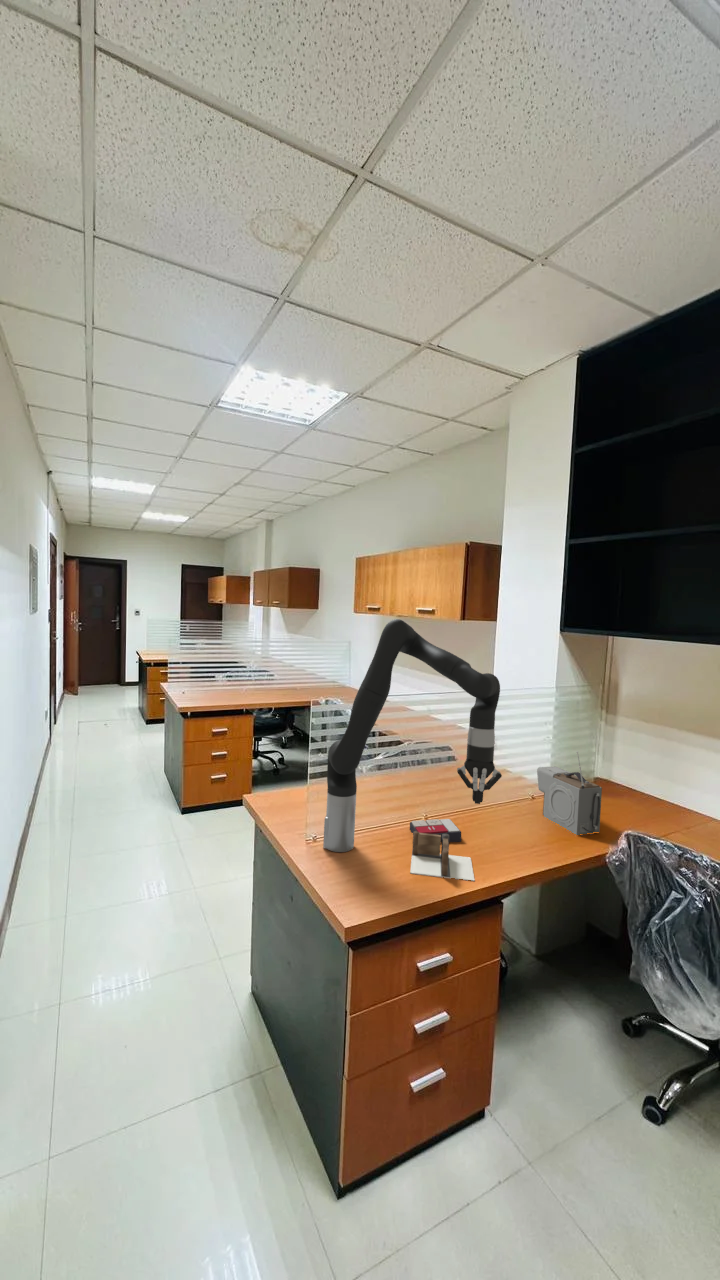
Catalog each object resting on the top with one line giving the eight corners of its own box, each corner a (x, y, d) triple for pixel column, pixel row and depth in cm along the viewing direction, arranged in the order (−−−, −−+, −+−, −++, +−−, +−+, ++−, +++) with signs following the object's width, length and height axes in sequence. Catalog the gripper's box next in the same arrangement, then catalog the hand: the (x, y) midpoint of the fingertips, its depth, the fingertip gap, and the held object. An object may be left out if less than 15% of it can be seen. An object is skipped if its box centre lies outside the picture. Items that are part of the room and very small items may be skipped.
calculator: (409, 819, 169) (450, 817, 171) (409, 831, 169) (450, 828, 171) (418, 832, 158) (461, 829, 160) (418, 845, 158) (461, 842, 160)
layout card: (410, 873, 137) (410, 872, 137) (412, 851, 151) (412, 850, 151) (474, 881, 135) (474, 880, 135) (470, 858, 148) (470, 857, 148)
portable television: (555, 810, 195) (560, 736, 194) (602, 834, 172) (607, 751, 172) (531, 812, 191) (535, 737, 190) (575, 837, 168) (580, 752, 168)
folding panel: (441, 857, 146) (442, 836, 146) (447, 858, 146) (448, 837, 146) (441, 875, 136) (442, 852, 136) (447, 875, 135) (448, 853, 135)
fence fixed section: (412, 856, 148) (413, 833, 148) (412, 852, 150) (413, 830, 150) (448, 860, 146) (449, 836, 146) (448, 857, 149) (449, 834, 148)
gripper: (502, 742, 140) (499, 801, 141) (456, 738, 142) (453, 796, 143) (506, 748, 133) (502, 810, 133) (458, 743, 135) (454, 805, 135)
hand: (477, 802), depth 138 cm, fingers closed
